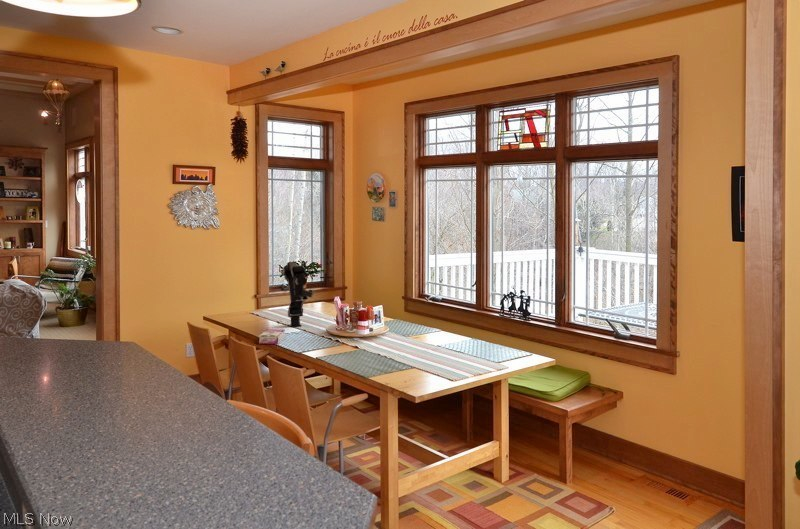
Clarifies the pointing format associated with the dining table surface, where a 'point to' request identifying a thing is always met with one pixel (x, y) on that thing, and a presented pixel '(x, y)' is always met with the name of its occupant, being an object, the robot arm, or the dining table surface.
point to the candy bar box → (271, 336)
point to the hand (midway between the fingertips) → (300, 312)
